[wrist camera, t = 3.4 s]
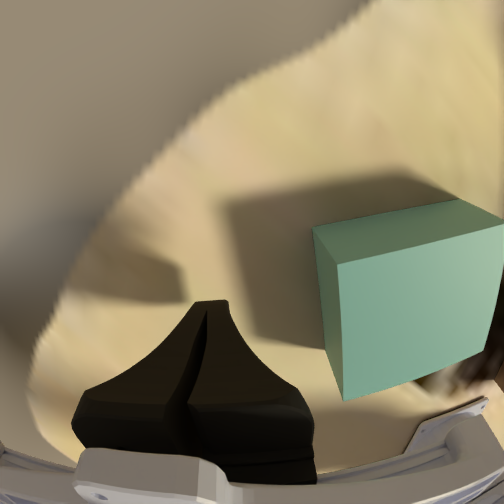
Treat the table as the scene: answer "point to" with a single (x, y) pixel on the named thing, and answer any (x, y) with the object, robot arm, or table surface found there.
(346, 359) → the teal block
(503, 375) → the walnut board
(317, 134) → the table surface
